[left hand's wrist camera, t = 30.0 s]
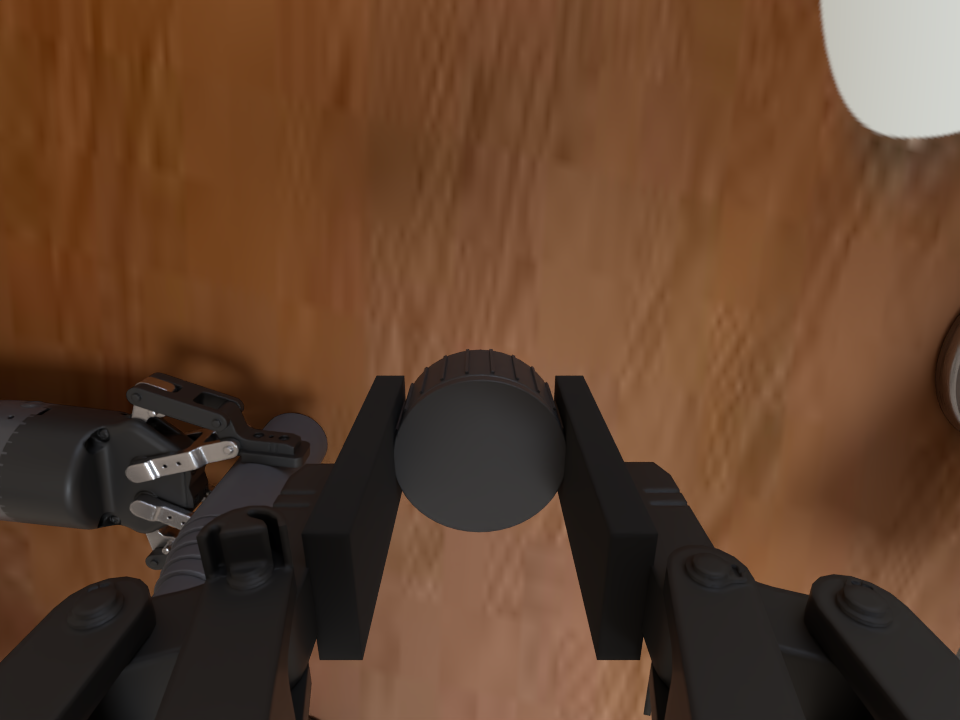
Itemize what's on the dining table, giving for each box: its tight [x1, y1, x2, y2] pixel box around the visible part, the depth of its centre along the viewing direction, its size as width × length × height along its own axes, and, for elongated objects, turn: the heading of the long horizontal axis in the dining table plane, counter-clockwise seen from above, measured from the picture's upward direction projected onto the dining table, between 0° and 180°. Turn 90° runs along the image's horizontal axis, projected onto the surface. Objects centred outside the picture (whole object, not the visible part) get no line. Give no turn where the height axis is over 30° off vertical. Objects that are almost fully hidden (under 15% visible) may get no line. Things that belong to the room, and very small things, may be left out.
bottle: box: [152, 413, 327, 597], centre depth 32 cm, size 5×5×18 cm
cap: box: [394, 349, 566, 532], centre depth 14 cm, size 4×4×2 cm
